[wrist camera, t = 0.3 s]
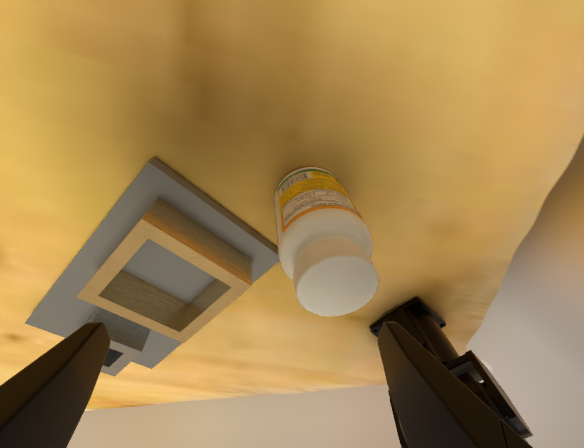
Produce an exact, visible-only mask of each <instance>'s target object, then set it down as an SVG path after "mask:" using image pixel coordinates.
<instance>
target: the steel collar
mask: <svg viewBox="0 0 584 448" xmlns="http://www.w3.org/2000/svg"><path fill="white" fill-rule="evenodd" d="M88 322H103V323H104V324H105V326H106V329H107V331H108V334H109V337H110V347H109V350H108V352H107V355H106V358H105V360H104V363H103V366H102V368H101V371H100V372H103V373H106V374H109V375H112V376H116V375H117V374H118V373H119V372H120V371H121V370H122V369H123V368H124V367H126V366H127V365H128V364H129V363H130V362H131V361H132V360H133V359H134V358H136V357H137V356H138V355H139V354H140V353H141V352H142V350H143V348H144V345H145V343H146V340H147V338H148V335H149V333H150V331H151V329H149V328H147V327H145V326H142V325H140V324H138V323H135V322H133V321H131V320H128V319H126V318H124V317H121V316H119V315H117V314H114V313H112V312H110V311H107V310H105V309H103V308H100V307H99V308H98V309H97V310H96V311H95V312H94V314H93V315H92V316H91V317H90V318H89V319H88V320H87V321H86V322H85V324H86V323H88Z"/></svg>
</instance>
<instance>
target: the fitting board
mask: <svg viewBox="0 0 584 448" xmlns="http://www.w3.org/2000/svg"><path fill="white" fill-rule="evenodd" d="M158 197H160V198H161V199H163V200H164V201H166V202H167V203H169V204H170V205H172V206H173V207H175V208H176V209H178V210H179V211H181V212H182V213H184V214H185V215H186V216H188V217H189V218H191V219H192V220H194V221H195V222H197V223H198V224H200V225H201V226H203V227H204V228H206V229H207V230H209V231H210V232H212V233H213V234H215V235H216V236H218V237H219V238H221V239H222V240H224V241H225V242H227V243H228V244H230V245H231V246H233V247H234V248H236V249H237V250H239V251H240V252H242V253H243V254H245V255H246V256H248V257H249V258H251V259H252V282H251V284H252V283H254V282H255V281H256V280H257V279H258V278H260V277H261V276H262V275H263V274H264V273H265V272H267V271H268V270H269V269H270V268H271V267H273V266H274V265H275V264H276V263H277V262H278V261H280V260H279V254H278V248H277V247H276V246H274V245H273V244H272V243H270V242H269V241H267V240H266V239H265V238H263V237H262V236H261V235H259V234H258V233H257V232H255V231H254V230H253V229H251V228H250V227H248V226H247V225H246V224H244V223H243V222H242V221H240V220H239V219H238V218H236V217H235V216H234V215H232V214H231V213H229V212H228V211H227V210H225V209H224V208H223V207H221V206H220V205H219V204H217V203H216V202H215V201H213V200H212V199H210V198H209V197H208V196H206V195H205V194H204V193H202V192H201V191H200V190H198V189H197V188H196V187H194V186H193V185H191V184H190V183H189V182H187V181H186V180H185V179H183V178H182V177H181V176H179V175H178V174H177V173H175V172H174V171H172V170H171V169H170V168H168V167H167V166H166V165H164V164H163V163H162V162H160V161H159V160H158V159H156V158H155V157H153V158H152V159H151V160H150V161H149V162H148V163H147V164H146V166H145V167H144V168H143V170H142V171H141V172H140V173H139V175H138V176H137V177H136V179H135V180H134V181H133V183H132V184H131V185H130V186H129V188H128V189H127V190H126V192H125V193H124V194H123V196H122V197H121V198H120V200H119V201H118V202H117V203H116V205H115V206H114V207H113V209H112V210H111V211H110V213H109V214H108V215H107V216H106V218H105V219H104V220H103V222H102V223H101V224H100V226H99V227H98V228H97V229H96V231H95V232H94V233H93V235H92V236H91V237H90V239H89V240H88V241H87V242H86V244H85V245H84V246H83V248H82V249H81V250H80V252H79V253H78V254H77V255H76V257H75V258H74V259H73V261H72V262H71V263H70V265H69V266H68V267H67V269H66V270H65V271H64V272H63V274H62V275H61V276H60V278H59V279H58V280H57V282H56V283H55V284H54V285H53V287H52V288H51V289H50V291H49V292H48V293H47V295H46V296H45V297H44V298H43V300H42V301H41V302H40V304H39V305H38V306H37V308H36V309H35V310H34V311H33V313H32V314H31V315H30V317H29V318H28V319H27V321H26V322H25V323H26V324H28V325H31V326H34V327H37V328H40V329H42V330H45V331H48V332H51V333H54V334H56V335H59V336H62V337H65V338H66V337H68V336H69V335H71V334H72V333H73V332H75V331H76V330H77V329H79V328H80V327H82V326H83V325H84V324H85V322H86V321H87V320H88V319H89V318H90V317H91V316H92V315H93V314H94V312H95V311H96V310H97V309H98V308H99V307H98V306H96V305H93V304H91V303H89V302H86V301H84V300H82V299H79V298H77V296H78V294H79V293H80V292H81V290H82V289H83V288H84V287H85V285H86V284H87V283H88V281H89V280H90V279H91V278H92V276H93V275H94V274H95V273H96V271H97V270H98V269H99V267H100V266H101V265H102V264H103V263H104V261H105V260H106V259H107V258H108V257H109V255H110V254H111V253H112V252H113V251H114V249H115V248H116V247H117V246H118V245H119V243H120V242H121V241H122V240H123V239H124V237H125V236H126V235H127V234H128V233H129V231H130V230H131V229H132V228H133V227H134V225H135V224H136V223H137V222H138V221H139V219H140V218H141V217H142V216H143V215H144V213H145V212H146V211H147V210H148V209H149V207H150V206H151V205H152V204H153V203H154V201H155V200H156V199H157V198H158ZM122 270H124V271H126V272H128V273H130V274H132V275H134V276H136V277H138V278H140V279H142V280H144V281H146V282H148V283H150V284H152V285H154V286H156V287H158V288H159V289H161V290H163V291H165V292H167V293H169V294H171V295H173V296H175V297H177V298H179V299H181V300H183V301H185V302H187V303H190V302H191V301H192V300H193V299H194V298H195V297H196V296H197V295H198V294H199V293H201V292H202V291H203V290H204V289H205V288H206V287H207V286H208V285H209V284H210V283H211V282H213V281H214V280H215V279H216V278H215V277H213V276H212V275H210V274H208V273H207V272H205V271H203V270H201V269H200V268H198V267H196V266H195V265H193V264H191V263H190V262H188V261H186V260H184V259H183V258H181V257H179V256H178V255H176V254H174V253H172V252H171V251H169V250H167V249H166V248H164V247H162V246H161V245H159V244H157V243H155V242H154V241H152V240H150V239H149V238H148V239H147V241H146V242H145V243H144V244H143V245H142V246H141V247H140V248H139V250H138V251H137V252H136V253H135V254H134V255H133V256H132V258H131V259H130V260H129V261H128V262H127V263H126V264H125V266H124V267H123V268H122ZM181 344H182V342H180V341H177V340H175V339H173V338H170V337H168V336H166V335H163V334H161V333H159V332H156V331H154V330H152V329H151V331H150V333H149V335H148V338H147V340H146V343H145V345H144V348H143V350H142V352H141V353H140V354H139V355H138V356H137V357H136V358H134V359H133V360H132V362H134V363H137V364H140V365H143V366H145V367H148V368H151V369H152V368H153V367H155V366H156V365H157V364H158V363H159V362H160V361H162V360H163V359H164V358H165V357H166V356H168V355H169V354H170V353H171V352H172V351H173V350H175V349H176V348H177V347H178V346H179V345H181Z"/></svg>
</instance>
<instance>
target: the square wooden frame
mask: <svg viewBox="0 0 584 448" xmlns="http://www.w3.org/2000/svg"><path fill="white" fill-rule="evenodd" d="M148 238H149V239H150V240H152V241H154V242H155V243H157V244H159V245H161V246H162V247H164V248H166V249H167V250H169V251H171V252H172V253H174V254H176V255H178V256H179V257H181V258H183V259H184V260H186V261H188V262H190V263H191V264H193V265H195V266H196V267H198V268H200V269H201V270H203V271H205V272H207V273H208V274H210V275H212V276H213V277H215V278H216V279H215V280H214V281H213V282H211V283H210V284H209V285H208V286H207V287H206V288H205V289H204V290H203V291H202V292H201V293H199V294H198V295H197V296H196V297H195V298H194V299H193V300H192V301H191V302H190V303H187V302H185V301H183V300H181V299H179V298H177V297H175V296H173V295H171V294H169V293H167V292H165V291H163V290H161V289H159V288H158V287H156V286H154V285H152V284H150V283H148V282H146V281H144V280H142V279H140V278H138V277H136V276H134V275H132V274H130V273H128V272H126V271H124V270H122V268H123V267H124V266H125V264H126V263H127V262H128V261H129V260H130V259H131V258H132V256H133V255H134V254H135V253H136V252H137V251H138V250H139V248H140V247H141V246H142V245H143V244H144V243H145V242H146V241H147V239H148ZM251 282H252V259H251V258H249V257H248V256H246V255H245V254H243V253H242V252H240V251H239V250H237V249H236V248H234V247H233V246H231V245H230V244H228V243H227V242H225V241H224V240H222V239H221V238H219V237H218V236H216V235H215V234H213V233H212V232H210V231H209V230H207V229H206V228H204V227H203V226H201V225H200V224H198V223H197V222H195V221H194V220H192V219H191V218H189V217H188V216H186V215H185V214H184V213H182V212H181V211H179V210H178V209H176V208H175V207H173V206H172V205H170V204H169V203H167V202H166V201H164V200H163V199H161V198H160V197H158V198H157V199H156V200H155V201H154V203H153V204H152V205H151V206H150V207H149V209H148V210H147V211H146V212H145V213H144V215H143V216H142V217H141V218H140V219H139V221H138V222H137V223H136V224H135V225H134V227H133V228H132V229H131V230H130V231H129V233H128V234H127V235H126V236H125V237H124V239H123V240H122V241H121V242H120V243H119V245H118V246H117V247H116V248H115V249H114V251H113V252H112V253H111V254H110V255H109V257H108V258H107V259H106V260H105V261H104V263H103V264H102V265H101V266H100V267H99V269H98V270H97V271H96V273H95V274H94V275H93V276H92V278H91V279H90V280H89V281H88V283H87V284H86V285H85V287H84V288H83V289H82V290H81V292H80V293H79V294H78V296H77V298H79V299H82V300H84V301H86V302H89V303H91V304H93V305H96V306H98V307H100V308H103V309H105V310H107V311H110V312H112V313H114V314H117V315H119V316H121V317H124V318H126V319H128V320H131V321H133V322H135V323H138V324H140V325H142V326H145V327H147V328H149V329H152V330H154V331H156V332H159V333H161V334H163V335H166V336H168V337H170V338H173V339H175V340H177V341H180V342H182V343H184V342H186V341H187V340H188V339H189V338H190V337H192V336H193V335H194V334H195V333H196V332H197V331H199V330H200V329H201V328H202V327H203V326H205V325H206V324H207V323H208V322H209V321H210V320H212V319H213V318H214V317H215V316H216V315H218V314H219V313H220V312H221V311H222V310H224V309H225V308H226V307H227V306H228V305H229V304H231V303H232V302H233V301H234V300H235V299H237V298H238V297H239V296H240V295H241V294H242V293H244V292H245V291H246V290H247V289H248V288H250V287H251Z"/></svg>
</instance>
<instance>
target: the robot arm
mask: <svg viewBox="0 0 584 448" xmlns="http://www.w3.org/2000/svg"><path fill="white" fill-rule="evenodd" d="M444 326H446V323H445V321H444V320H443V319H442V318H441V317H440V316H439V315H438V314H437V313H435V312H434V311H433V310H432V309H431V308H430V307H429V306H428V305H427V304H426V303H425V302H424V301H422V300H421V299H420V298H415V299H413V300H411V301H410V302H408V303H407V304H405V305H403V306H402V307H400V308H399V309H397V310H396V311H394V312H392V313H391V314H389V315H388V316H386V317H385V318H383V319H382V320H380V321H378V322H377V323H375V324H374V325H372V326H371V327H370V330H371V333H373V334H374V335H376V336H377V337H378V346H379V350H380V354H381V358H382V363H383V367H384V371H385V375H386V380H387V384H388V387H389V391H388V392H389V396H390V403H391V407H392V411H393V415H394V419H395V423H396V428H397V432H398V436H399V440H400V444H401V448H533V447H532V446H530V445H529V444H528V442H527V441H526V439H525V438H528V437H531V436H533V434H532V433H531V431H530V430H529V428H528V427H527V425H526V423H525V422H524V420H523V419H522V417H521V416H520V414H519V413H518V411H517V410H516V408H515V407H514V405H513V404H512V402H511V401H510V399H509V397H508V396H507V394H506V393H505V392H504V390H503V389H502V388H501V386H500V385H499V384H498V382H497V381H496V380H495V378H494V377H493V376H492V374H491V373H490V372H489V370H488V369H487V368H486V367H485V365H484V364H483V363H482V362H481V361H480V360H479V359H478V358H477V356H476V355H475V354H474V353H473V352H472V351H471V350H470V351H468V352H465V353H466V354H464V355H462V356H459V355H458V353H457V352H456V350H455V349H454V347H453V346H452V344H451V343H450V341H449V340H448V338H447V337H446V335H445V334H444V332H443V331H442V329H441V328H443V327H444ZM109 347H110V337H109V334H108V331H107V329H106V326H105V324H104V323H103V322H88V323H86V324H84V325H83V326H82V327H80V328H79V329H77V330H76V331H75V332H73V333H72V334H71V335H69V336H68V337H66V338H65V339H64V340H62V341H61V342H60V343H58V344H57V345H56V346H54V347H53V348H51V349H50V350H49V351H47V352H46V353H45V354H43V355H42V356H40V357H39V358H38V359H36V360H35V361H34V362H32V363H31V364H29V365H28V366H27V367H25V368H24V369H23V370H21V371H20V372H18V373H17V374H16V375H14V376H13V377H12V378H10V379H9V380H8V381H6V382H5V383H3V384H2V385H1V386H0V448H66V447H67V445H68V443H69V441H70V439H71V437H72V435H73V433H74V431H75V429H76V427H77V425H78V423H79V421H80V418H81V416H82V414H83V413H84V410H85V408H86V406H87V404H88V402H89V400H90V397H91V395H92V392H93V390H94V387H95V384H96V382H97V379H98V376H99V374H100V371H101V368H102V366H103V363H104V360H105V358H106V355H107V352H108V350H109ZM481 380H483V381H484V382H483V383H480V382H479V381H481Z"/></svg>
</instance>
